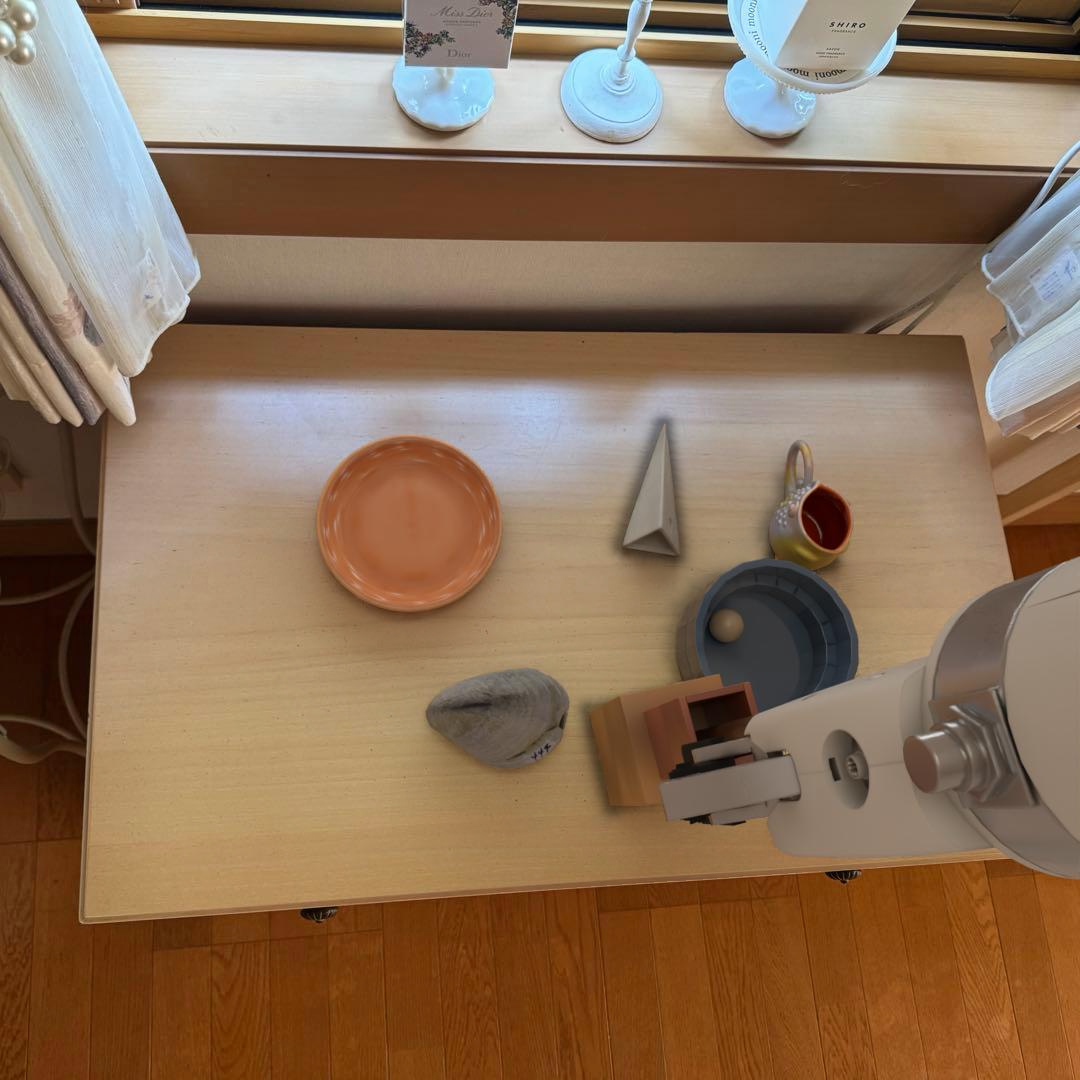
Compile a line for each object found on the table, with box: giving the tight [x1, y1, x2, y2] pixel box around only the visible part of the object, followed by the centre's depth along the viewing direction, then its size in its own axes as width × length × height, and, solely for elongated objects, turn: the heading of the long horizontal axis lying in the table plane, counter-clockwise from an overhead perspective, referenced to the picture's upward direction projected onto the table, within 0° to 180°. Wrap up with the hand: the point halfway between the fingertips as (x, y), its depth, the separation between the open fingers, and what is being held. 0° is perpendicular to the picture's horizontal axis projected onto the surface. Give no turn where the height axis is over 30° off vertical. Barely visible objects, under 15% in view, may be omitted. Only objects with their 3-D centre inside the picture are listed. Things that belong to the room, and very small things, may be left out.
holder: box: [588, 674, 759, 807], centre depth 68 cm, size 8×8×21 cm
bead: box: [709, 608, 744, 642], centre depth 80 cm, size 3×3×3 cm
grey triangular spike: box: [622, 422, 681, 557], centre depth 84 cm, size 6×5×13 cm
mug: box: [768, 439, 855, 571], centre depth 83 cm, size 12×7×7 cm, turn 3°
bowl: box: [676, 557, 860, 713], centre depth 78 cm, size 14×14×6 cm
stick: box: [695, 715, 755, 741], centre depth 58 cm, size 2×2×16 cm
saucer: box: [315, 434, 504, 613], centre depth 79 cm, size 16×16×3 cm
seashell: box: [425, 667, 570, 770], centre depth 74 cm, size 12×8×5 cm
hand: (803, 756), depth 38 cm, fingers open, 9 cm apart
